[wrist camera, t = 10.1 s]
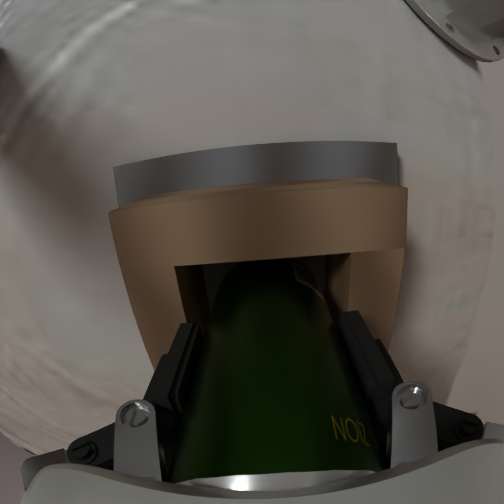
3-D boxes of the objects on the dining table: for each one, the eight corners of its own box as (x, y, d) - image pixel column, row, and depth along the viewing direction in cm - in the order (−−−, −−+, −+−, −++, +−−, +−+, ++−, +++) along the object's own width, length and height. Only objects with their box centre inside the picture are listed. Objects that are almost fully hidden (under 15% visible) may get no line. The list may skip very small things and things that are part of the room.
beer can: (256, 228, 13) (245, 508, 2) (338, 285, 14) (436, 500, 3) (199, 306, 15) (129, 523, 4) (277, 350, 16) (289, 550, 4)
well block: (388, 143, 14) (443, 142, 9) (371, 360, 19) (394, 411, 14) (121, 166, 15) (66, 174, 9) (172, 374, 20) (154, 427, 15)
